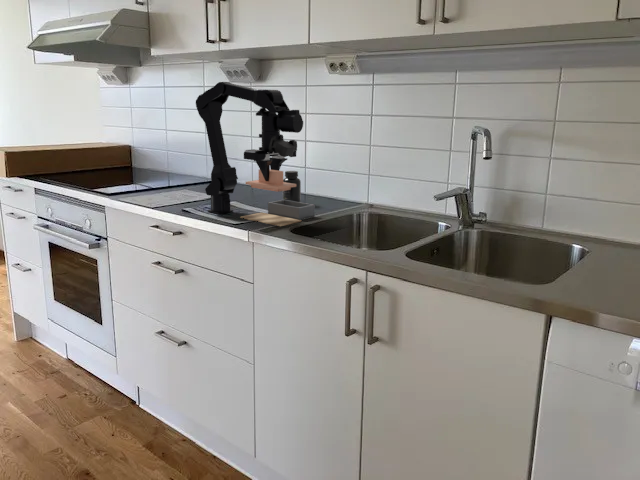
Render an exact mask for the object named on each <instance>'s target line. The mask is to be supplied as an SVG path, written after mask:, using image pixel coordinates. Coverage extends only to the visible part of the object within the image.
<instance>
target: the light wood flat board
mask: <svg viewBox="0 0 640 480" xmlns="http://www.w3.org/2000/svg"><path fill="white" fill-rule="evenodd" d="M239 217H240V219H243V218H244V220H248V221H253V222H257V221H258V222H259V223H263V224H267V225H273V226H276V225H277V227H284V226H288V225H289V226H290V225H293V224H297V223H300V222H302V220H303V219H302V220H298V219H293V218H287V217H282V216H277V215H272V214H268V212H267V213H266V212H257V213H252V214H247V215H242V216H239Z"/></svg>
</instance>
